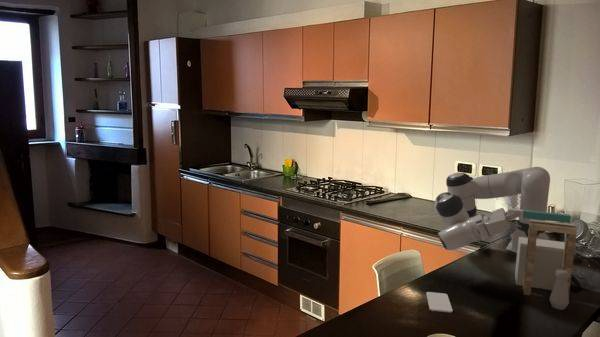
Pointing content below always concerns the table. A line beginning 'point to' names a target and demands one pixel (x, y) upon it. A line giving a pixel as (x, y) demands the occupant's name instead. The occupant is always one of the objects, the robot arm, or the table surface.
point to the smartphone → (439, 302)
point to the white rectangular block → (540, 262)
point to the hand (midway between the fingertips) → (519, 212)
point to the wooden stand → (531, 247)
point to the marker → (541, 215)
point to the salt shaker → (560, 290)
